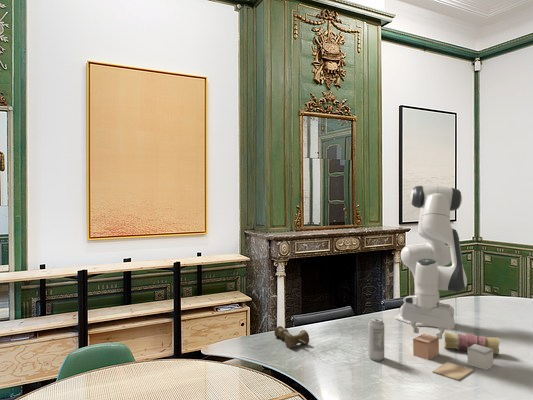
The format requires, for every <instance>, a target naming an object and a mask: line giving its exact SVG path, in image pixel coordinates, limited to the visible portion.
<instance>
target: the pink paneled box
mask: <svg viewBox="0 0 533 400" xmlns="http://www.w3.org/2000/svg"><path fill="white" fill-rule="evenodd" d="M436 337H437V336H436V335H435V336H434V335H431V334H428V333H427V334H426V333H422V334H421V335H419V336H417V337H414V338H413V339H412V341H413V343H412V347H413V348H412V350H413V353H412V354H413V356H414V357H417V358H421V359H424V360H427V361H428V360H430V359H432V358H434V357H435V356H438V355H439V354H440V345H439V343H440V339H437V338H436Z"/></svg>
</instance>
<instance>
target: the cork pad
mask: <svg viewBox="0 0 533 400" xmlns="http://www.w3.org/2000/svg"><path fill="white" fill-rule="evenodd" d="M473 371H474V369H472V368H469V367H465V366H462V365H459V364H456V363H452V362H449V361H447V362H445V363H444V364H442V365H440V366H439V367H437V368H435V369H434V370H432V373H433V374H436V375H438V376H439V375H440V376H442V377H445V378H448V379H451V380H453V381H457V382H460V381H461V380H463V378H465V377H467V376H468V375H470V374H471V373H473Z"/></svg>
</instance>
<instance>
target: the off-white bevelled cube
mask: <svg viewBox="0 0 533 400" xmlns="http://www.w3.org/2000/svg"><path fill="white" fill-rule="evenodd" d="M467 365H469V366H473V367H476V368H479V369H482V370H488V369H490V368H491V367H492V366H493V365H494V353H493V349H492V348H488V347H484V346H481V345H477V344H474V345H472V346H470V347H469V348H468V353H467Z"/></svg>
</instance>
